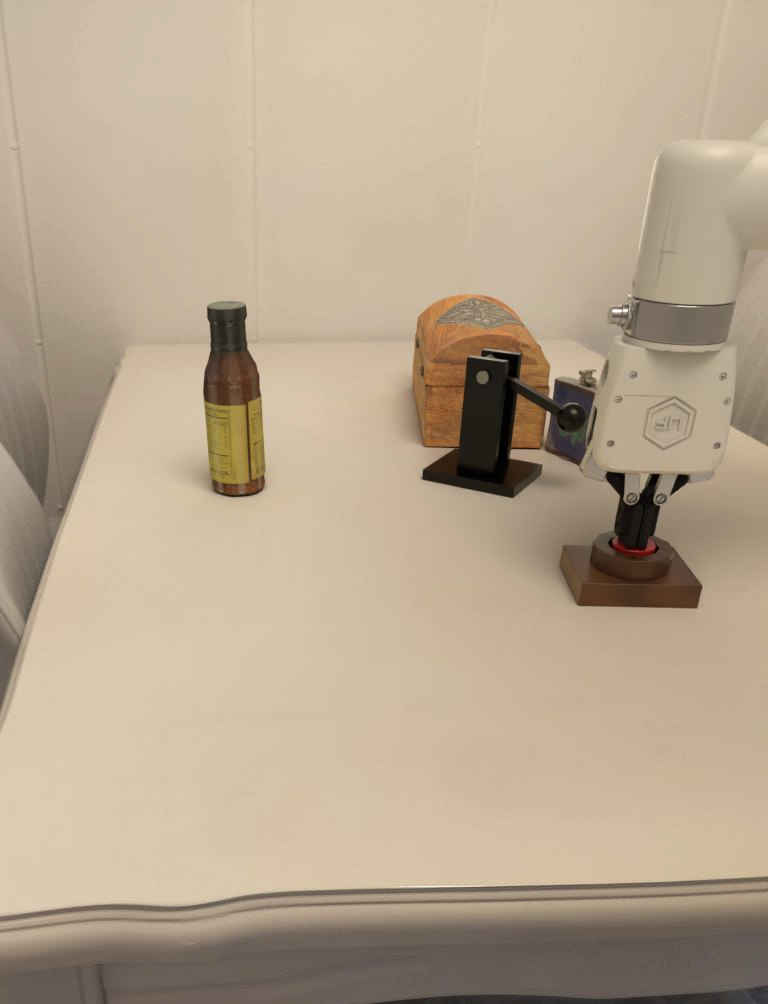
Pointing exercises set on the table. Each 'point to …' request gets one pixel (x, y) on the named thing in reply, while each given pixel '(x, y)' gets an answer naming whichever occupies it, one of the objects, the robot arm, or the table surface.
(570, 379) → the flask
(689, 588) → the button block
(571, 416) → the lever
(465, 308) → the wooden box
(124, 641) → the table surface
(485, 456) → the bracket
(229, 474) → the sauce bottle
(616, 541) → the button
